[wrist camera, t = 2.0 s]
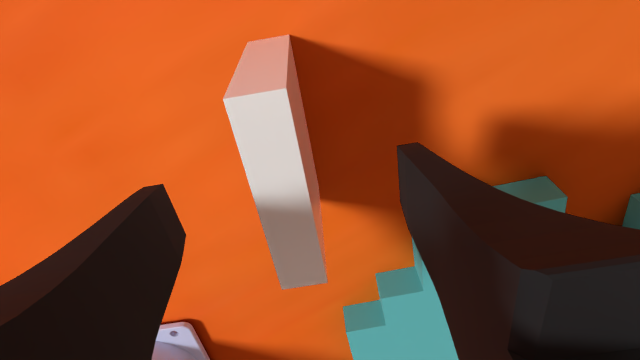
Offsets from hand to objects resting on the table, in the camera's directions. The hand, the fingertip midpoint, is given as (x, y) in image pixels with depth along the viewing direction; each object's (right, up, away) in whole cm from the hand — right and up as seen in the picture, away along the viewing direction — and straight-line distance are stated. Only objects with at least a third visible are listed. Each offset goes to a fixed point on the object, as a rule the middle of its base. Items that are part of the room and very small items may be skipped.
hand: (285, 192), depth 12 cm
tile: (0, +3, +5) cm, 5 cm away
